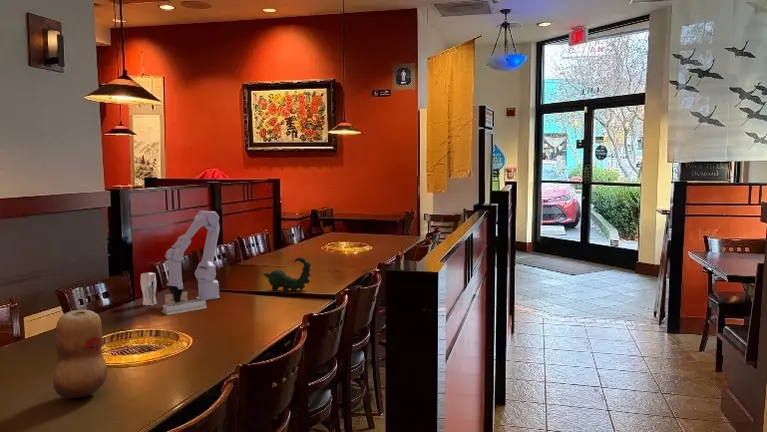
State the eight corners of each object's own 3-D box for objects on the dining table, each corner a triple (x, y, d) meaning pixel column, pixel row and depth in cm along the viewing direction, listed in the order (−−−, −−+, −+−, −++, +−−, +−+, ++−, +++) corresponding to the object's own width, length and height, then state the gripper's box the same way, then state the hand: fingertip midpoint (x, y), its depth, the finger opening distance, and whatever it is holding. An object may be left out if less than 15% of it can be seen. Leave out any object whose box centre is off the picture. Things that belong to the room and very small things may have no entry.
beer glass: (160, 302, 267) (158, 272, 266) (152, 306, 260) (151, 275, 259) (146, 302, 268) (144, 272, 266) (139, 305, 261) (137, 275, 260)
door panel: (186, 303, 264) (186, 291, 264) (187, 304, 263) (187, 291, 262) (165, 307, 258) (164, 294, 257) (166, 307, 257) (166, 295, 256)
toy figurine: (310, 291, 293) (265, 287, 294) (312, 256, 291) (267, 252, 293) (306, 295, 283) (259, 291, 285) (308, 260, 281) (261, 255, 283)
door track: (201, 305, 260) (200, 298, 260) (206, 308, 255) (206, 300, 255) (162, 312, 249) (162, 304, 249) (167, 315, 244) (167, 307, 243)
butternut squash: (78, 409, 149) (71, 320, 147) (43, 402, 154) (37, 316, 152) (119, 390, 162) (114, 307, 160) (86, 384, 167) (81, 304, 165)
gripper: (161, 272, 262) (163, 300, 263) (171, 277, 251) (173, 305, 252) (176, 270, 267) (178, 297, 268) (187, 274, 255) (188, 303, 257)
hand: (176, 301), depth 260 cm, fingers closed on door panel, 2 cm apart
